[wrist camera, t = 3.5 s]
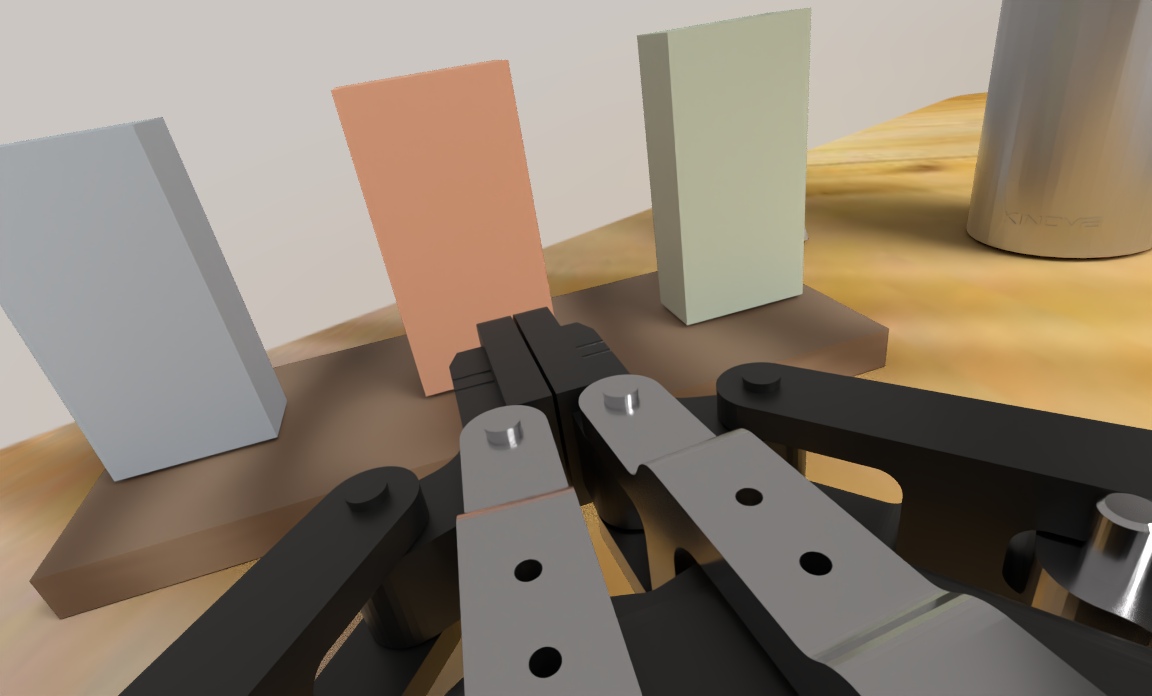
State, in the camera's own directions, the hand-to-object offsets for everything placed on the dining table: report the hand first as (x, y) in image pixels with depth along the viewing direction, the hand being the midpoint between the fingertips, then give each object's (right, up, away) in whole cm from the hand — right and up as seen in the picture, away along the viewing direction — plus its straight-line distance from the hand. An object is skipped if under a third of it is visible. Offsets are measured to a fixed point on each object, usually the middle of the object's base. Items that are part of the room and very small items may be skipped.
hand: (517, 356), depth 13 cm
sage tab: (+9, +3, +17) cm, 19 cm away
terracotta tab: (-3, -1, +15) cm, 15 cm away
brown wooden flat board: (-2, -2, +16) cm, 16 cm away
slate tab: (-14, -4, +12) cm, 19 cm away
